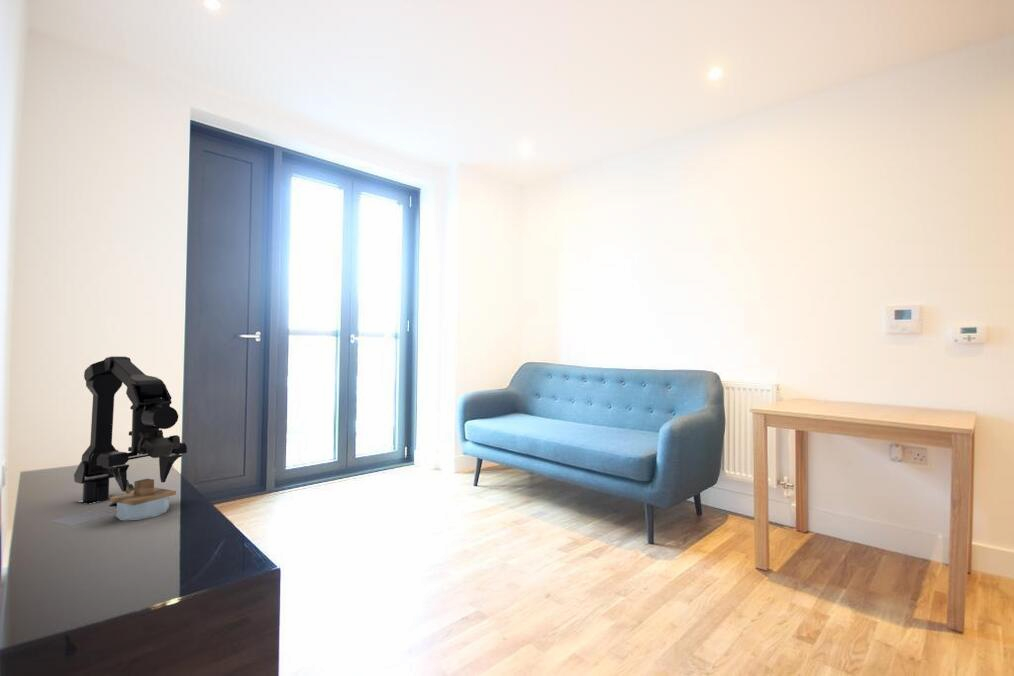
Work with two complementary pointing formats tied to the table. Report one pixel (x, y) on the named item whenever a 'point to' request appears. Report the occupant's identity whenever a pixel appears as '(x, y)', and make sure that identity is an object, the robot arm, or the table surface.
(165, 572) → the table surface
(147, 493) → the lid
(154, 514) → the bowl
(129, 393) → the robot arm
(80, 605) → the table surface
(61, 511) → the table surface
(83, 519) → the mat
